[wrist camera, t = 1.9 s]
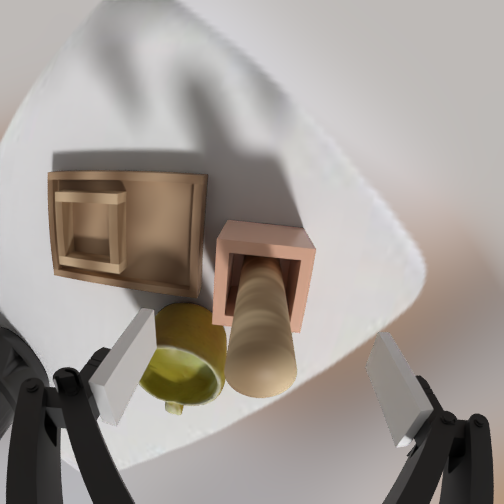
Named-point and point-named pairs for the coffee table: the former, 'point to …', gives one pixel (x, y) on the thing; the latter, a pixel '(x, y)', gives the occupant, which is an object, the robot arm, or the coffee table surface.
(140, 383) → the mug
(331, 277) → the coffee table surface
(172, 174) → the tray
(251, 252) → the pink hollow box
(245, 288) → the dowel
